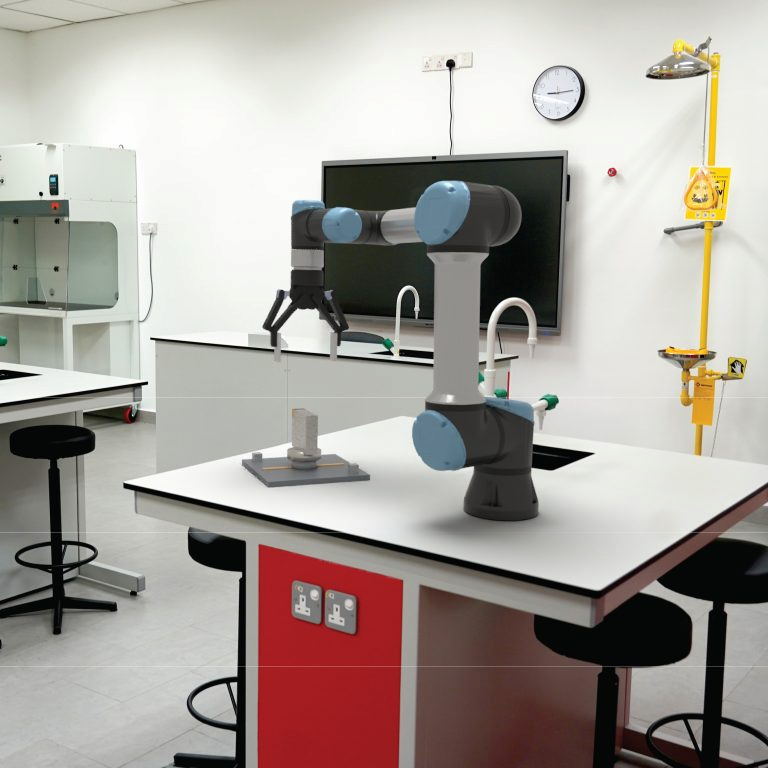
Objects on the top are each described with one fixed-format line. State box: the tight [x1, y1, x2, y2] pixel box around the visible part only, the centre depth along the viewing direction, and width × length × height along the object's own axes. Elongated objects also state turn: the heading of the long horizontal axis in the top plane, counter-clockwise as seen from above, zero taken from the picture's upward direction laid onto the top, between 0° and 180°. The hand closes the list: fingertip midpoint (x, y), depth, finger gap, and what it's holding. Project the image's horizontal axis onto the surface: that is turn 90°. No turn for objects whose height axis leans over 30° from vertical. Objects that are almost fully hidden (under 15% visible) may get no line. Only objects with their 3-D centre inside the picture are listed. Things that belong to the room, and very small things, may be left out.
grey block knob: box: [286, 407, 322, 462], centre depth 213 cm, size 11×8×11 cm
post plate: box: [241, 451, 371, 488], centre depth 214 cm, size 24×24×3 cm
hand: (305, 360), depth 211 cm, fingers open, 13 cm apart
